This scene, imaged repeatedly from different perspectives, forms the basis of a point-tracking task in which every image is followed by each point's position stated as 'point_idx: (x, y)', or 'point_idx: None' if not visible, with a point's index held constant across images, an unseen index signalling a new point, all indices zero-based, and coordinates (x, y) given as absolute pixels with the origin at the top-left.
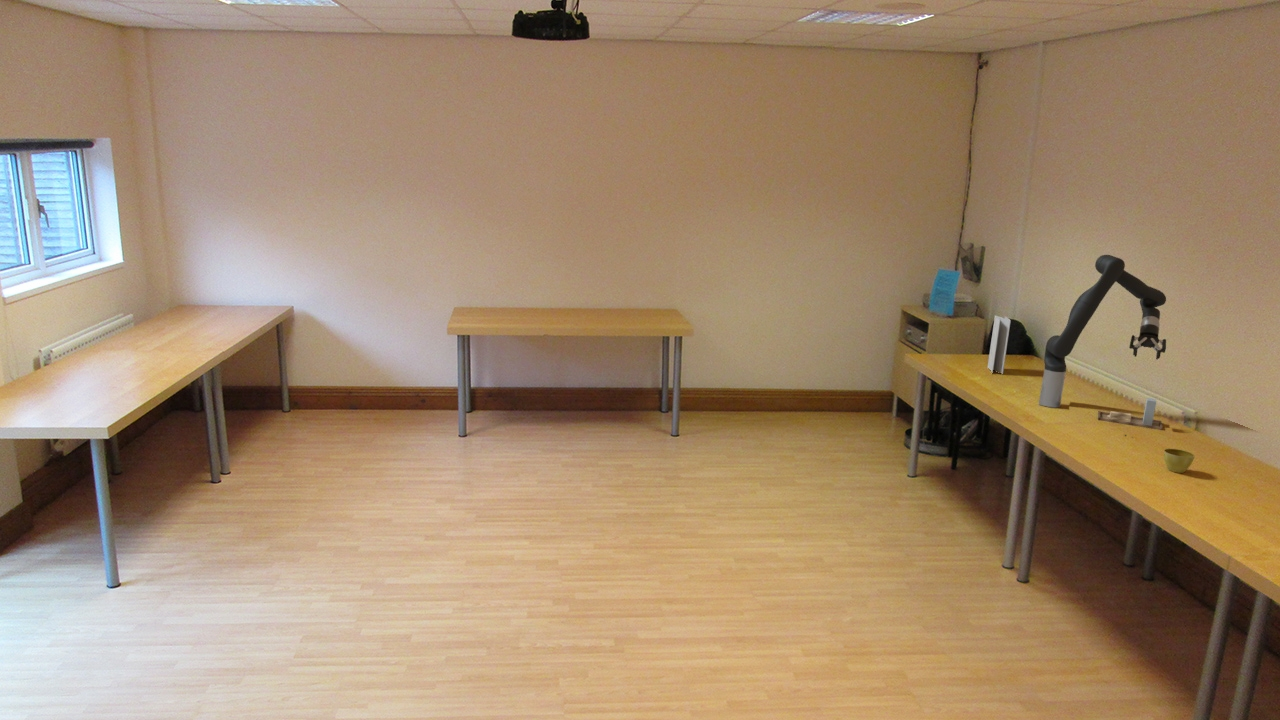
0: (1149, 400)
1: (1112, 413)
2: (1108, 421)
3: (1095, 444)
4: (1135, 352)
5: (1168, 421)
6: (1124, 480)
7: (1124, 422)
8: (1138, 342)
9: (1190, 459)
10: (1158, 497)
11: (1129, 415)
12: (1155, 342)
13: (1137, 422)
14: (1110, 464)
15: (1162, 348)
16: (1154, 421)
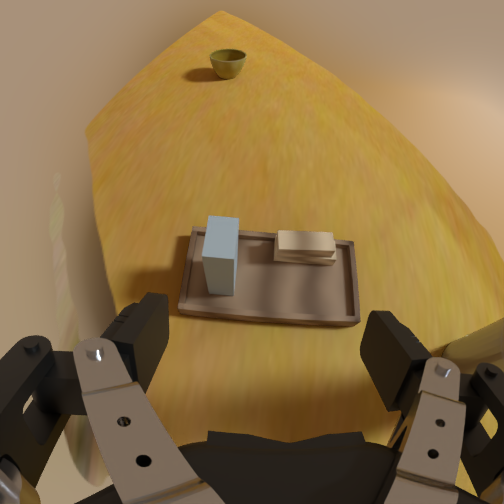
0: (231, 220)
1: (327, 233)
2: None
3: (330, 119)
4: (394, 316)
5: None
6: (287, 52)
7: None
8: (462, 404)
9: (217, 52)
10: (260, 39)
11: (282, 230)
12: (121, 448)
13: (250, 275)
14: (302, 73)
15: (49, 373)
16: (197, 306)
